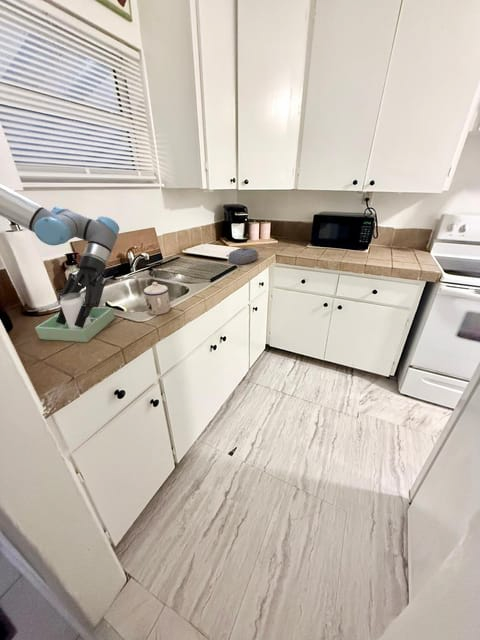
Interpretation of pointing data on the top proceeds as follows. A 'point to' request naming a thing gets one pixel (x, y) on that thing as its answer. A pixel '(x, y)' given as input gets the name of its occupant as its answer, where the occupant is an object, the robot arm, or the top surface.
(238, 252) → the grey rounded bag
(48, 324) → the tray with compartments
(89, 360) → the top surface
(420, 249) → the top surface
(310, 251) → the top surface
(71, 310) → the can
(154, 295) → the teacup with lid
